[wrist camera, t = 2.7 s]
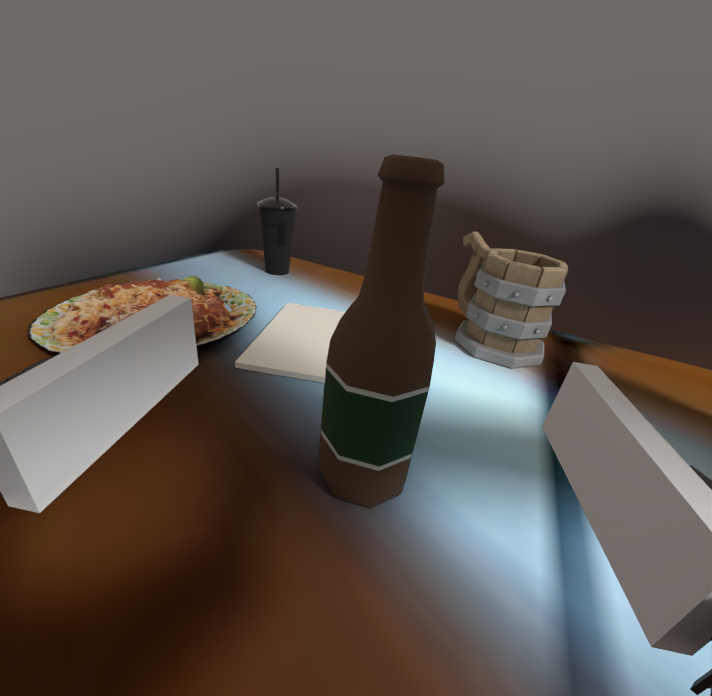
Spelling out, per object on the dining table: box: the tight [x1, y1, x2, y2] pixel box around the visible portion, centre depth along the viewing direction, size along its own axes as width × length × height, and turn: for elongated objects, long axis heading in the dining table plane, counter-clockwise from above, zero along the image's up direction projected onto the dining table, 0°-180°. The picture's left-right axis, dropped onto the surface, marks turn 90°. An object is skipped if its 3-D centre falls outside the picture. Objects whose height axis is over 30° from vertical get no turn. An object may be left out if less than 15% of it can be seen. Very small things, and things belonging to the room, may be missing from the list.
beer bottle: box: [319, 155, 444, 508], centre depth 25 cm, size 8×8×24 cm
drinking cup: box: [257, 168, 297, 275], centre depth 71 cm, size 8×8×20 cm
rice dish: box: [27, 276, 257, 353], centre depth 50 cm, size 28×28×5 cm
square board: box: [235, 303, 345, 383], centre depth 50 cm, size 20×20×1 cm
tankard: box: [454, 232, 568, 368], centre depth 54 cm, size 20×13×15 cm, turn 19°
